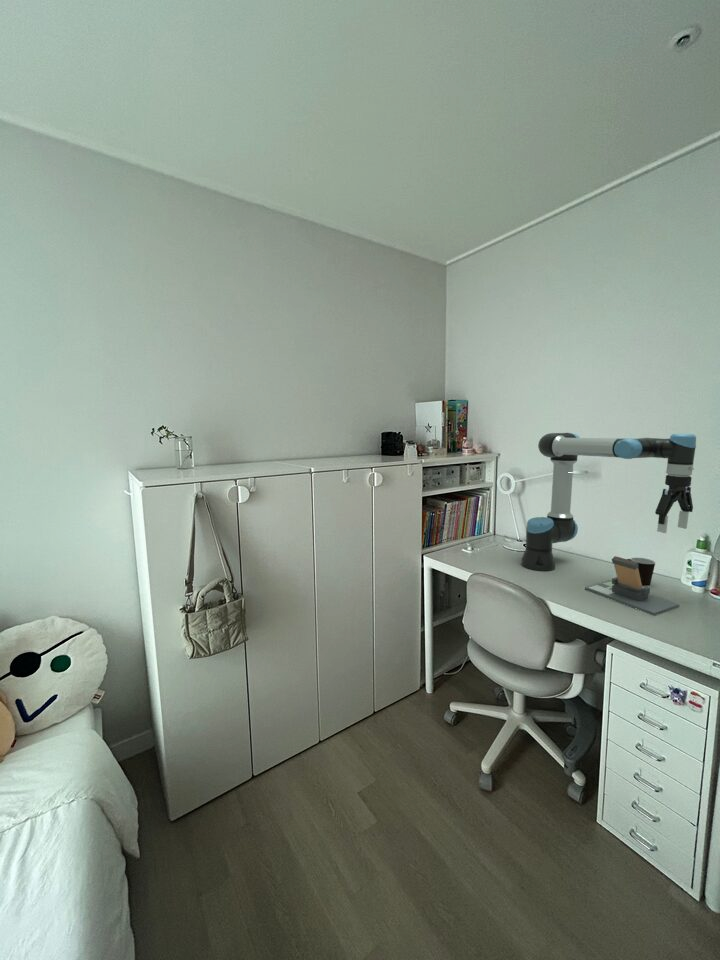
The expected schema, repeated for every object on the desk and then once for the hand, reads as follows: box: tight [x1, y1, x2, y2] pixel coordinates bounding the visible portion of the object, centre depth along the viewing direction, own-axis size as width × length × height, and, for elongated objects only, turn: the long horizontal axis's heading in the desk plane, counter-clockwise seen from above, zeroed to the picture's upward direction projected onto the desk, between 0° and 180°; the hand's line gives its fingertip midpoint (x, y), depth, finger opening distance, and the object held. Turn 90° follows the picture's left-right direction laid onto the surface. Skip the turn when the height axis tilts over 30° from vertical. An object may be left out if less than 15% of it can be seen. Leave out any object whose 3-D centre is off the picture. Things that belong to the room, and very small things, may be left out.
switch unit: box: [584, 576, 680, 616], centre depth 152 cm, size 26×16×6 cm, turn 25°
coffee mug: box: [626, 557, 656, 587], centre depth 168 cm, size 12×9×10 cm
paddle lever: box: [611, 555, 644, 591], centre depth 150 cm, size 9×2×13 cm, turn 25°
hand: (672, 530), depth 148 cm, fingers open, 13 cm apart
